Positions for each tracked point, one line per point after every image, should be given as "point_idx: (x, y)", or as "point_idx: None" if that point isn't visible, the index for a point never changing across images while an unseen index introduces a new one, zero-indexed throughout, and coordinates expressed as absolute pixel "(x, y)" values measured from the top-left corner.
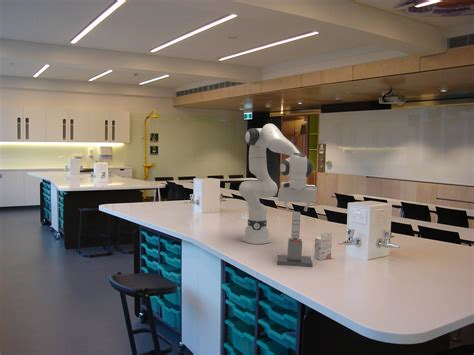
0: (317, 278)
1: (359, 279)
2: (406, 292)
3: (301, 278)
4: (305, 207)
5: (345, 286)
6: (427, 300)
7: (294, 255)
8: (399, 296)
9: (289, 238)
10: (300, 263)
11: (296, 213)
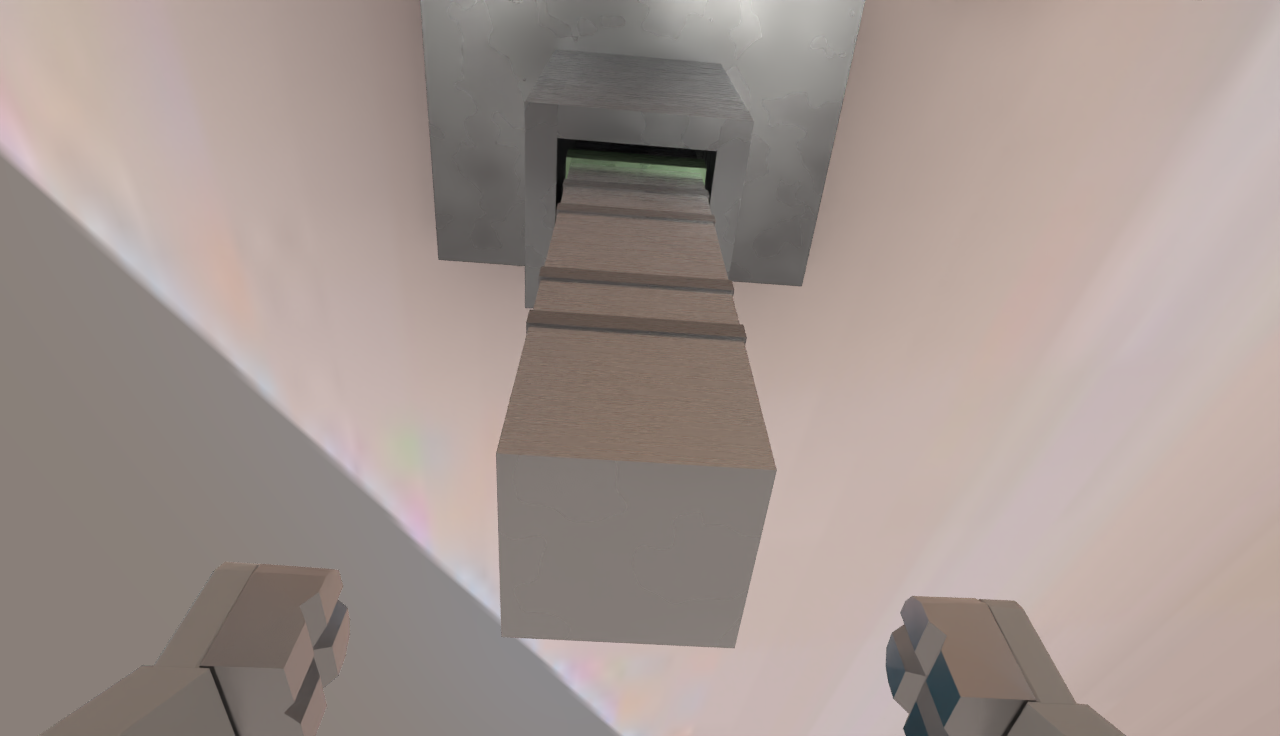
0: None
1: (1057, 515)
2: (1200, 665)
3: None
4: (1004, 710)
5: (887, 624)
6: (1219, 731)
7: None
8: (1112, 706)
9: (545, 114)
10: None
11: (616, 631)
